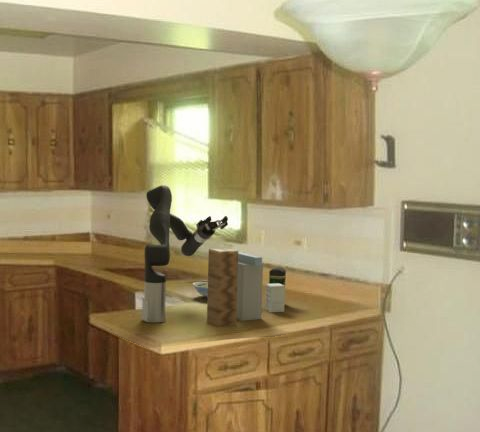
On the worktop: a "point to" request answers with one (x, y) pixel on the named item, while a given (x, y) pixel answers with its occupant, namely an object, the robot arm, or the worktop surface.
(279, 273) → the coffee jar
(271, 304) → the supplement box
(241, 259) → the blue bar
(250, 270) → the grey step
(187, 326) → the worktop surface
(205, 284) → the ramen bowl
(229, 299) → the walnut stand
